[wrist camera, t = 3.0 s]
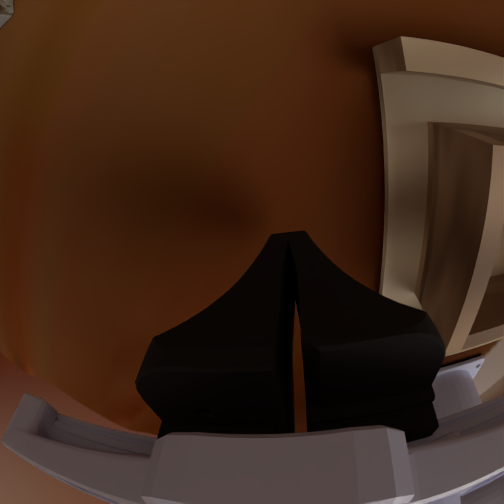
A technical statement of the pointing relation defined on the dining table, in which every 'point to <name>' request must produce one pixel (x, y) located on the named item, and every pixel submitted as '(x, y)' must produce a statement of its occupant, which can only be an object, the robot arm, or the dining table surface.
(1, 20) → the coffee box
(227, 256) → the dining table surface
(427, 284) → the beige square tray
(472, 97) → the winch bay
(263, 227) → the dining table surface
